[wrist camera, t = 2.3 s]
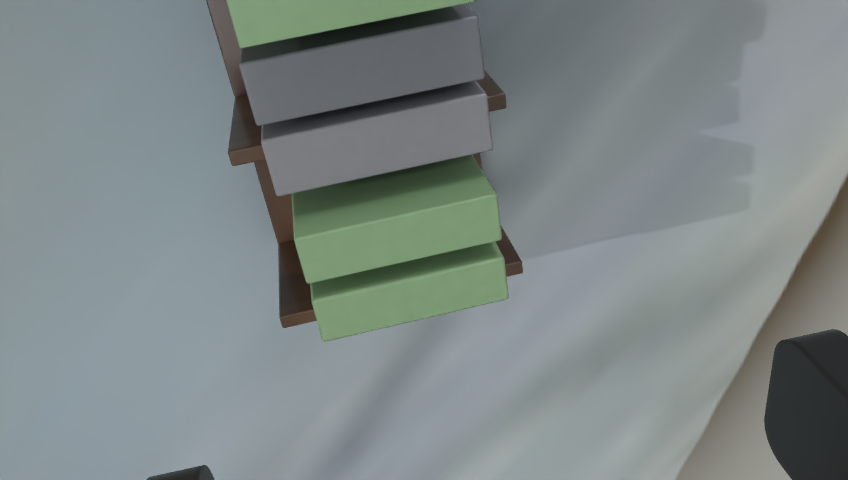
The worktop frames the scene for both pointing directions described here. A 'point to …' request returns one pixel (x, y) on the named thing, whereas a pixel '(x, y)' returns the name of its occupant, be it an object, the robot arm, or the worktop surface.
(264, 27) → the green book
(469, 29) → the grey books
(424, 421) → the worktop surface
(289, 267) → the book rack
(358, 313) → the green books
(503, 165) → the worktop surface
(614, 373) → the worktop surface
